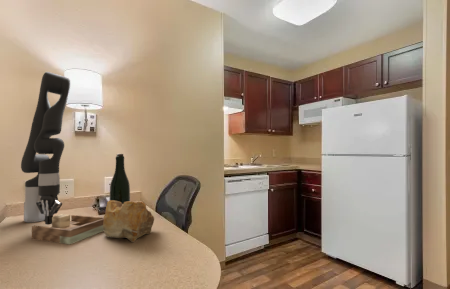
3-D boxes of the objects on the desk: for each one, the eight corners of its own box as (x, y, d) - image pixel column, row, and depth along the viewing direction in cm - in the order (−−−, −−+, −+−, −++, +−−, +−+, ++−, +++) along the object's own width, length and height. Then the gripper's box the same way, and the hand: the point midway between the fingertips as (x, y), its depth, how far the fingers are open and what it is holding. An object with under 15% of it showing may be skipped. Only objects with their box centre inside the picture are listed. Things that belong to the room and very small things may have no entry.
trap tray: (31, 239, 94) (31, 226, 94) (73, 225, 111) (73, 214, 111) (69, 244, 88) (70, 230, 88) (107, 229, 105) (107, 217, 105)
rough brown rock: (168, 238, 95) (169, 199, 97) (129, 247, 82) (132, 203, 84) (135, 229, 110) (137, 195, 112) (98, 236, 97) (101, 198, 99)
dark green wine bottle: (133, 214, 131) (133, 153, 132) (114, 218, 123) (114, 153, 124) (124, 211, 137) (124, 153, 139) (105, 215, 130) (106, 153, 131)
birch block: (51, 227, 100) (52, 216, 100) (62, 224, 104) (62, 214, 105) (59, 228, 99) (60, 217, 99) (70, 225, 103) (70, 214, 103)
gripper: (29, 184, 103) (28, 225, 102) (51, 185, 99) (51, 228, 98) (47, 182, 110) (46, 220, 109) (68, 183, 106) (68, 222, 105)
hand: (48, 224), depth 104 cm, fingers closed
